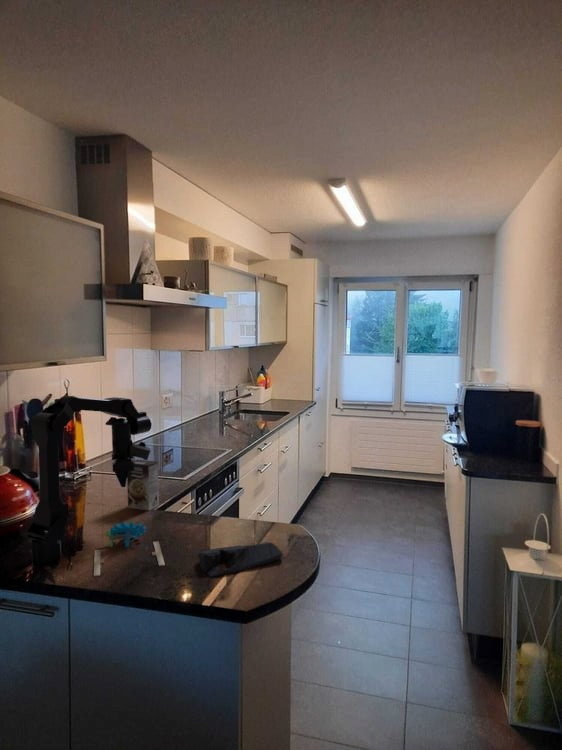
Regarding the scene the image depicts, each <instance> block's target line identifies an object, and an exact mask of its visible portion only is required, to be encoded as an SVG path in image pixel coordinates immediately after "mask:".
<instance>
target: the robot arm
mask: <svg viewBox="0 0 562 750" xmlns="http://www.w3.org/2000/svg"><path fill="white" fill-rule="evenodd" d="M77 411H85V412H86V411H88V412H90V411H91V412H100V413H104V414H106V415H109V416H111V417H109V419H108V420H107V421H106V422H105V426H111V445H112V446H111V447H112V452H111V461H113V462H112V465H111V466H112V472H113V473H114V474H115V476H116V478H117V480H118V482H119V485H120V487H121V488H125V487H126V486H127V475H128V471H131V470H134V461H135V460H133V459H134V457H136V458H140V459H142V460H147V461H149V460H148V459H149V456H150V454H151V451H152V450H151V448H150V447H149V446H146V442H143V441H140V442H139V443H136V444H135V443H134V442H133V439H132V436H137V435H139V434H144V433H148V432H150V431H151V429H152V426H153V425H152V423H153V422H152V421H151V419H150V417H149V416H148V415H147V411H138V409H137V408H136V407H135V405H134V402H133V400H132V399H131V398H128V397H107V398H104V399H99V398H91V397H90V398H88V397H79V396H76V395H75V396H74V395H63V396H62V397H60V398H59V399H57V400H56V401H55V402H54V403H52V404H51V405H48V406H47V407H45V408H44V409H43V410H41V411H40V412H38V413H36V414H35V415H34V416H32V418H31V420H30V430H31V434H32V438H33V440H34V442H35V443H36V445H37V448H38V467H39V470H38V471H39V472H38V474H39V501H38V503H37V505H36V507H35V508H34V509H35V510H34V516H33V517H34V518H33V520H32V522H30V523H31V524H30V525H29V526H28V528H26V530H25V532H24V534H25V536H26V538H27V539H28V540H31V556H32V557H31V559H32V561H31V562H32V563H31V568H36V567H37V568H38V567H43V566H44V567H45V566H51V565H57V564H59V562H60V559H61V557H62V542H61V540H62V539H64V534H65V530H66V527H67V526H68V523H69V522H68V520H69V519H70V518H71V517H70V516H71V515H70V513H69V509H70V504H69V503H68V502H64V501H62V499H61V487H60V486H61V485H60V482H61V481H60V455H59V449H60V448H59V446H60V443H61V441H62V439H63V437H64V435H65V428H66V426H67V425H68V424H69V423H70V421H71V420H72V419H73V417H74V415H75V412H77ZM113 416H114V417H113ZM117 417H118V418H117Z"/></svg>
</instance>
